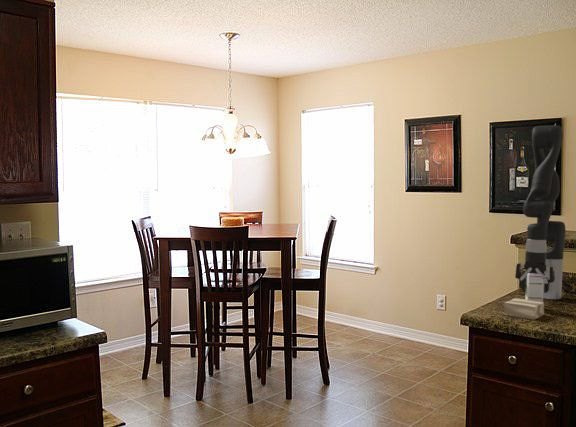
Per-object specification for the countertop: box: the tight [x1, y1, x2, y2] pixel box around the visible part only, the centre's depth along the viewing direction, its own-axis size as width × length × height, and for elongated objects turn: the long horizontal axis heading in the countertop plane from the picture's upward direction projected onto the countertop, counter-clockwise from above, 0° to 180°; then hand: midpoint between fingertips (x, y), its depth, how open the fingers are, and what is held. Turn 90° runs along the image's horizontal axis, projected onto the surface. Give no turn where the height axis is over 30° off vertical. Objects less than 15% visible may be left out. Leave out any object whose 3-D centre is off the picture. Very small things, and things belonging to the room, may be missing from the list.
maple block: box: [503, 297, 545, 321], centre depth 221 cm, size 11×11×5 cm
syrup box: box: [524, 273, 544, 302], centre depth 230 cm, size 6×6×14 cm
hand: (534, 291), depth 230 cm, fingers open, 8 cm apart
